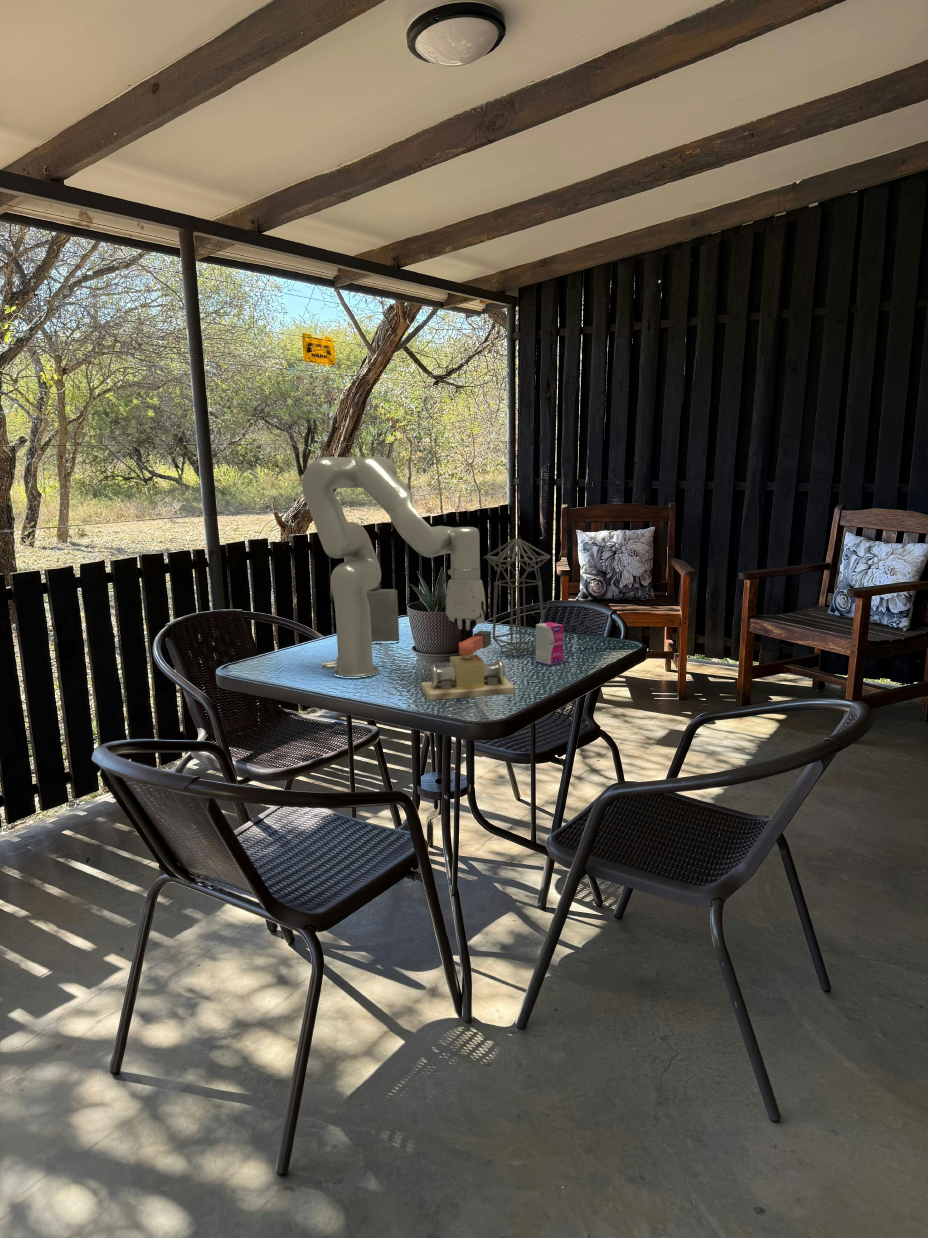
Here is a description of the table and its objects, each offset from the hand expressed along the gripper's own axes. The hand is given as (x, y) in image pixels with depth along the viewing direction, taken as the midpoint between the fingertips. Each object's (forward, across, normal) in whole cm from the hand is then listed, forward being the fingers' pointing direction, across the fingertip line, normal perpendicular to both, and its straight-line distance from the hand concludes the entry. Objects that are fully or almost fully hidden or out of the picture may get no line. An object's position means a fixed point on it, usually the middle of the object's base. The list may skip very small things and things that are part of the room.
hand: (466, 643), depth 212 cm
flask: (+11, -54, +27) cm, 62 cm away
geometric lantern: (+10, -4, +34) cm, 36 cm away
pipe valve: (+10, +6, -9) cm, 14 cm away
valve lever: (+1, +4, -3) cm, 5 cm away
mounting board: (+10, +6, -9) cm, 14 cm away
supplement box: (+10, +10, +27) cm, 31 cm away
